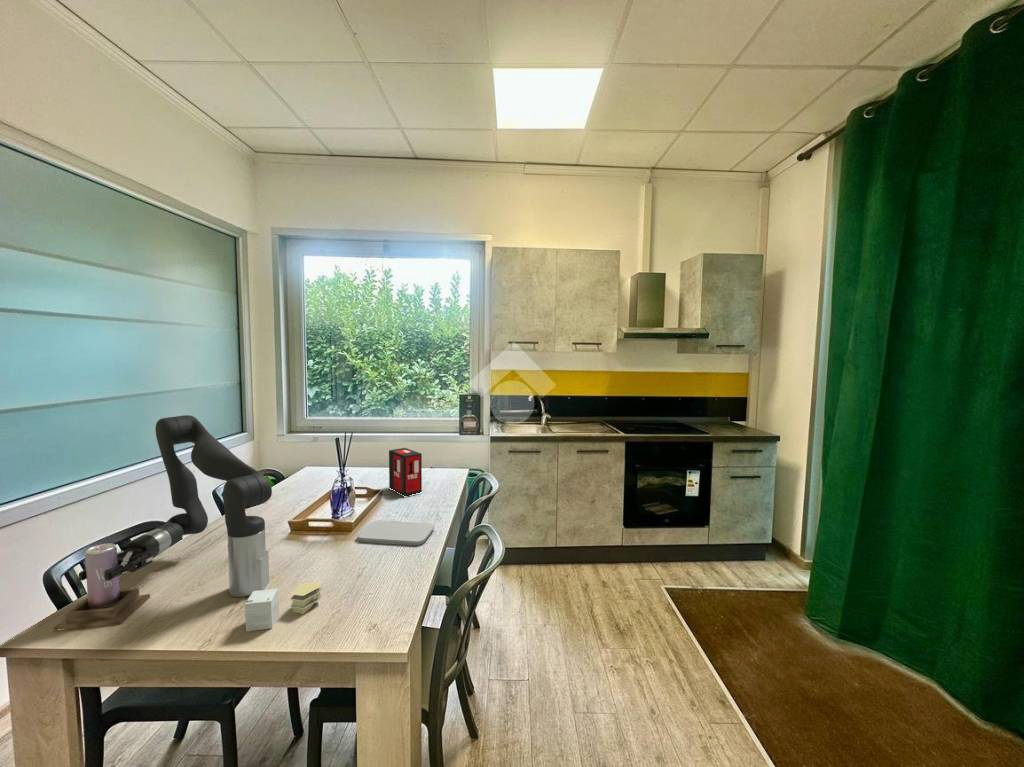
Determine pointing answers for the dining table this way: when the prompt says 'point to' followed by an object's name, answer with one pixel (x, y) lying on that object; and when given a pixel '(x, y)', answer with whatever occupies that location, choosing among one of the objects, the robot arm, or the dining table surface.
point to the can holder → (104, 612)
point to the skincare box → (262, 610)
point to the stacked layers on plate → (306, 596)
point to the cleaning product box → (405, 471)
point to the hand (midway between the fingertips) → (93, 577)
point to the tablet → (395, 532)
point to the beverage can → (101, 575)
